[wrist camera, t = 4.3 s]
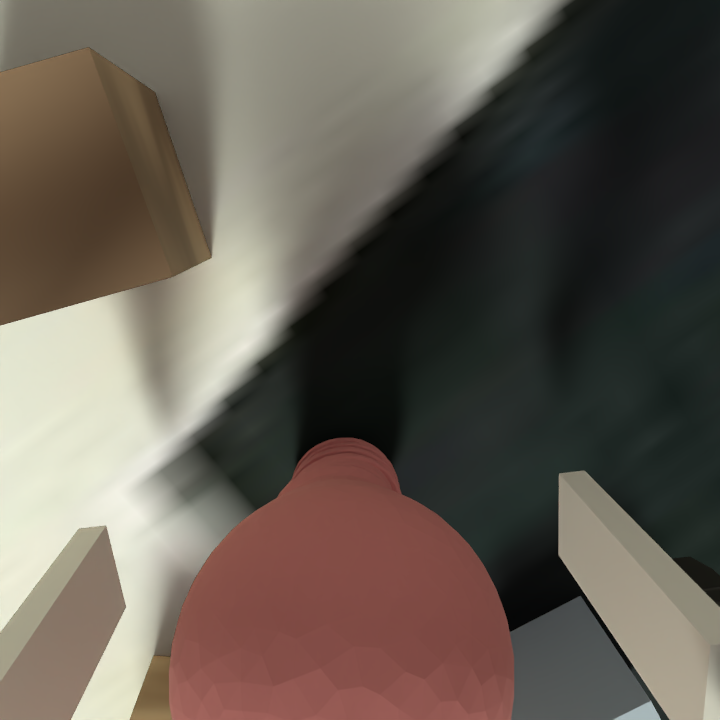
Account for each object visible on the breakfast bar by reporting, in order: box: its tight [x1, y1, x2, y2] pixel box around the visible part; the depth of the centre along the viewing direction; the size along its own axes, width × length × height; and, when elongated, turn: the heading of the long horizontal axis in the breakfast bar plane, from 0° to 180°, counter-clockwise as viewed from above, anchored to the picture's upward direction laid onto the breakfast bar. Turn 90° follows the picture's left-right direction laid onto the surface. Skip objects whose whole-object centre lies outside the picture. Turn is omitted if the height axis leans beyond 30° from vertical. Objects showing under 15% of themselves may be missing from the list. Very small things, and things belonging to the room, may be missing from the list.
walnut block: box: [0, 47, 212, 325], centre depth 15 cm, size 5×5×5 cm
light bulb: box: [169, 438, 514, 720], centre depth 14 cm, size 7×7×12 cm
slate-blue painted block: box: [510, 596, 661, 720], centre depth 21 cm, size 5×5×5 cm
